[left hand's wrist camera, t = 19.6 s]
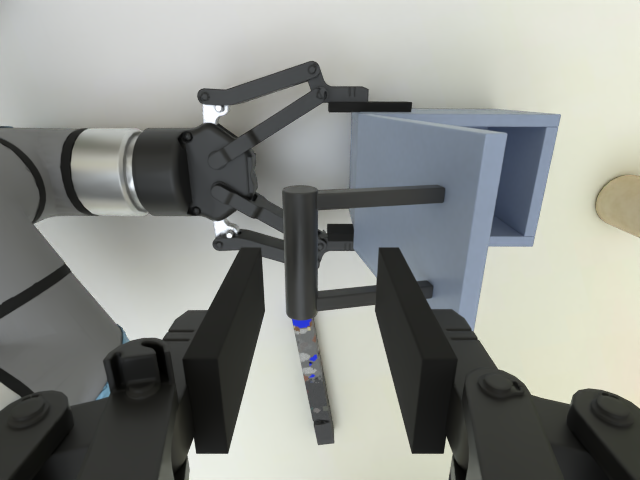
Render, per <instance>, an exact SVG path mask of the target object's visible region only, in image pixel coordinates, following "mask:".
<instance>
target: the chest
mask: <svg viewBox="0 0 640 480" xmlns="http://www.w3.org/2000/svg"><path fill="white" fill-rule="evenodd" d="M359 114H374V115H381V116H388V117H395V118H403V119H410V120H417V121H424V122H431V123H439V124H446V125H453V126H460V127H467V128H475V129H482V130H489V131H496V132H503V133H507V139H506V145H505V151H504V157H503V163H502V169H501V174H500V180H499V186H498V192H497V198H496V204H495V210H494V215H493V221H492V227H491V233H490V239H489V245H488V246H533V243H534V238H535V237H534V236H535V233H536V228H537V224H538V219H539V215H540V210H541V205H542V201H543V196H544V191H545V187H546V182H547V177H548V173H549V168H550V163H551V159H552V154H553V150H554V145H555V140H556V136H557V131H558V126H559V122H560V117H561V115H560V114H550V113H537V112H525V111H513V110H500V109H411V112H352V121H351V153H350V185H349V189H355V188H356V165H357V138H358V115H359ZM349 211H350V215H351V219H352V223H353V227H354V219H355V208H349Z"/></svg>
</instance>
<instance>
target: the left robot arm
mask: <svg viewBox="0 0 640 480" xmlns="http://www.w3.org/2000/svg"><path fill="white" fill-rule="evenodd" d="M264 312H265V304H264V286H263V269H262V251H261V247H241V248H240V250H239V252H238V254H237V256H236V258H235V260H234V262H233V264H232V266H231V267H230V269H229V271H228V273H227V275H226V277H225V279H224V281H223V283H222V285H221V286H220V288H219V290H218V292H217V294H216V296H215V298H214V300H213V302H212V304H211V305H210V307H209V309H208V310H188V311H187V312H185V313H184V314H182V315H181V316H180V317H178V318H177V319H176V320H175V321H174V323H173V324H172V326H171V327H170V329H169V332H167V333H166V335H165V336H164V338H163V340H161V339H157V338H141V339H137V340H132V341H129V342H127V343H124V344H122V345H120V346H118V347H116V348H115V349H114V350H112V351H111V352H109V353H108V355H107V356H106V357H105V358H104V360H103V364H104V368H105V372H106V376H107V380H108V385H109V389H110V395H109V397H106V398H102V399H99V400H95V401H90V402H86V403H81V404H77V405H72V406H70V404H69V400H68V397H67V396H66V395H65V394H64V393H63V392H59V391H54V390H49V391H40V392H36V393H33V394H29V395H27V396H24V397H22V398H20V399H18V400H16V401H14V402H12V403H10V404H9V405H7V406H6V407H5V408H3V409H2V410H1V411H0V480H189V471H190V469H189V462H188V456H187V454H188V451H189V449H190V446H191V443H192V441H193V438H194V441H195V448H196V454H228V452H229V448H230V444H231V440H232V436H233V432H234V428H235V425H236V421H237V417H238V413H239V409H240V405H241V401H242V398H243V394H244V390H245V386H246V382H247V378H248V374H249V370H250V367H251V363H252V359H253V355H254V351H255V347H256V343H257V339H258V336H259V332H260V328H261V324H262V320H263V316H264ZM375 312H376V316H377V320H378V324H379V328H380V332H381V336H382V339H383V343H384V347H385V351H386V355H387V359H388V363H389V367H390V370H391V374H392V378H393V382H394V386H395V390H396V394H397V398H398V401H399V405H400V409H401V413H402V417H403V421H404V425H405V429H406V432H407V436H408V440H409V444H410V448H411V452H412V454H444V448H445V441H446V436H447V439H448V441H449V444H450V447H451V450H452V452H453V456H452V462H451V468H450V474H449V480H640V409H639V408H638V407H637V406H636V405H634V404H633V403H632V402H630V401H628V400H626V399H624V398H622V397H620V396H618V395H616V394H613V393H610V392H606V391H603V390H597V389H583V390H578V391H577V392H576V393H575V394H574V395H573V397H572V400H571V404H566V403H562V402H557V401H553V400H548V399H544V398H540V397H537V396H533V395H531V394H530V392H529V390H528V389H527V387H526V386H525V384H524V383H523V382H521V381H520V380H519V379H518V378H516V377H515V376H513V375H511V374H509V373H507V372H505V371H502V370H498V368H497V367H496V365H495V364H494V362H493V361H492V359H491V358H490V356H489V355H488V353H487V352H486V350H485V349H484V347H483V345H482V344H481V342H480V341H479V340H478V339H477V336H476V335H475V333H474V332H473V331H472V329H471V327H470V326H469V324H468V323H467V321H466V320H465V318H464V317H462V316H461V315H459V314H458V313H457V312H455V311H454V310H452V309H431V307H430V305H429V304H428V302H427V300H426V298H425V296H424V294H423V292H422V290H421V288H420V286H419V285H418V283H417V281H416V279H415V277H414V275H413V273H412V271H411V269H410V267H409V266H408V264H407V262H406V260H405V258H404V256H403V254H402V252H401V250H400V248H399V247H379V251H378V269H377V286H376V304H375Z"/></svg>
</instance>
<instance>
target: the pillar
mask: <svg viewBox="0 0 640 480" xmlns="http://www.w3.org/2000/svg"><path fill="white" fill-rule="evenodd" d="M292 321H293V326H294V331H295V336H296V341H297V346H298V350H299V355H300V360H301V365H302V370H303V375H304V380H305V384H306V389H307V394H308V399H309V404H310V409H311V413H312V418H313V421H314V428H315V433H316V438H317V443H318V445H323V444H332V443H334V428H333V423H332V417H331V412H330V406H329V401H328V395H327V390H326V385H325V379H324V374H323V368H322V363H321V357H320V352H319V346H318V341H317V335H316V330H315V324H314V319H313V318H312V319H309V320H303V321H300V320H294V319H292Z"/></svg>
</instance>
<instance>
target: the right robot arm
mask: <svg viewBox="0 0 640 480" xmlns="http://www.w3.org/2000/svg"><path fill="white" fill-rule="evenodd" d="M307 81H308V83H309V86H310V89H311V91H310V92H309V93H307V94H306V95H304V96H303V97H301V98H300V99H298V100H296V101H295V102H293V103H292V104H290V105H289V106H287V107H286V108H284V109H282V110H281V111H279V112H278V113H276V114H275V115H273V116H272V117H270V118H268V119H267V120H265V121H264V122H262V123H261V124H259V125H258V126H256V127H254V128H253V129H251V130H250V131H248V132H246V133H245V134H243V135H242V136H240V137H239V138H238V137H237V136H235V135H234V134H233V133H231V132H230V131H228V130H227V129H226V128H224V127H223V126H221V125H220V124H218V120H219V118H220V117H221V116H223V115H226V114H228V113H229V112H230V105H235V104H240V103H244V102H247V101H250V100H253V99H256V98H259V97H262V96H265V95H268V94H271V93H274V92H277V91H280V90H283V89H286V88H289V87H292V86H295V85H298V84H301V83H304V82H307ZM368 90H369V89H367V88H365V87H349V86H329V85H327V84H326V83H325V81H324V79H323V76H322V73H321V70H320V67H319V65H318V64H317V63H316V62H314V61H309V62H306V63H304V64H301V65H298V66H295V67H292V68H289V69H286V70H283V71H280V72H277V73H274V74H271V75H268V76H265V77H262V78H259V79H256V80H253V81H250V82H247V83H244V84H241V85H238V86H236V87H233V88H230V89H227V90H223V89H201V90H199V92H198V95H197V97H198V100H199V102H200V103H202V106H203V124H201V125H200V126H198V127H196V128H147V129H145V130H144V131H142V130H140V129H138V128H83V129H53V128H13V127H10V126H0V411H1V410H2V409H3V408H5V407H6V406H7V405H9V404H10V403H12V402H14V401H16V400H18V399H20V398H22V397H24V396H27V395H29V394H33V393H36V392H40V391H49V390H54V391H59V392H63V393H64V394H65V395H66V396H67V397H68V400H69V404H70V406H72V405H77V404H81V403H86V402H90V401H95V400H99V399H102V398H106V397H109V395H110V389H109V385H108V380H107V376H106V372H105V368H104V364H103V360H104V358H105V357H106V356H107V355H108V353H109V352H111V351H112V350H114V349H115V348H116V347H118V346H120V345H122V344H124V343H127V342H129V339H128V338H127V336H126V334H125V332H124V330H123V328H122V327H120V326H119V325H118V324H116V323H115V322H114V321H113V320H112V319H111V317H110V316H109V315H108V314H107V313H106V312H105V310H104V309H103V308H102V307H101V306H100V305H99V303H98V302H97V301H96V300H95V299H94V298H93V297H92V295H91V294H90V293H89V292H88V291H87V290H86V288H85V287H84V286H83V285H82V284H81V283H80V282H79V280H78V279H77V278H76V277H75V276H74V275H73V273H72V272H71V271H70V269H69V268H68V266H67V265H66V264H65V262H64V261H63V260H62V259H61V257H60V256H59V255H58V254H57V253H56V251H55V250H54V249H53V248H52V246H51V245H50V244H49V243H48V242H47V240H46V239H45V238H44V237H43V235H42V234H41V233H40V232H39V231H38V229H37V228H36V227H35V226H34V225H33V224H34V223H36V222H38V221H41V220H43V219H45V218H48V217H53V216H90V215H91V216H145V215H147V214H148V213H150V214H151V215H153V216H203V217H206V218H208V219H210V220H213V223H214V229H215V236H216V238H215V240H214V241H213V247H214V248H215V249H216V250H218V251H227V250H240V248H241V247H261V251H262V257H265V258H269V259H272V260H276V261H279V262H283V263H285V258H284V240H282V239H278V238H275V237H271V236H268V235H264V234H261V233H257V232H254V231H250V230H245V229H239V227H238V226H237V225H236V224H233V223H230V222H229V221H228V220H227V217H228V216H230V215H231V214H232V213H234V212H235V211H237V210H238V211H240V212H242V213H244V214H245V215H247V216H249V217H251V218H256V219H259V220H260V221H262V222H264V223H266V224H268V225H269V226H271V227H273V228H275V229H277V230H278V231H280V232H282V233H284V227H283V209H282V208H280V207H278V206H276V205H275V204H273V203H271V202H269V201H268V200H266V199H265V197H263V196H262V195H260V194H258V193H257V192H256V189H257V178H256V175H255V172H254V169H255V164H256V153H254V152H253V150H252V147H254V146H255V145H257V144H258V143H260V142H261V141H263V140H264V139H266V138H268V137H269V136H271V135H272V134H274V133H276V132H277V131H279V130H280V129H282V128H283V127H285V126H287V125H288V124H290V123H291V122H293V121H295V120H296V119H298V118H299V117H301V116H302V115H304V114H306V113H307V112H309V111H310V110H312V109H314V108H315V107H317V106H318V105H320V104H321V103H328V111H329V112H411V108H412V102H368ZM353 246H354V227H353V224H327V233H326V232H325V231H324V230H323V232H322V231H320V230H319V229H318V268H319V265H320V261H321V259H322V256H323V254H324V253H325V252H327V251H355V250H354V249H353Z"/></svg>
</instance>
